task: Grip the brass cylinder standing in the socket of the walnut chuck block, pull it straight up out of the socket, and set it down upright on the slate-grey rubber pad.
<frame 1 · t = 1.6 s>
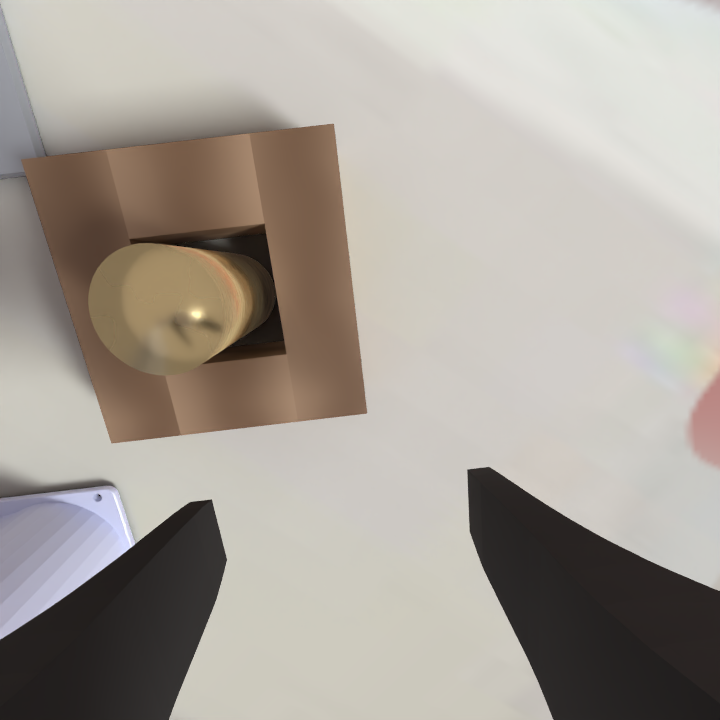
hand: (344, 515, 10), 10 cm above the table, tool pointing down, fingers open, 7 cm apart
chuck block: (236, 293, 18), on the table
brass cylinder: (207, 300, 15), in the chuck block
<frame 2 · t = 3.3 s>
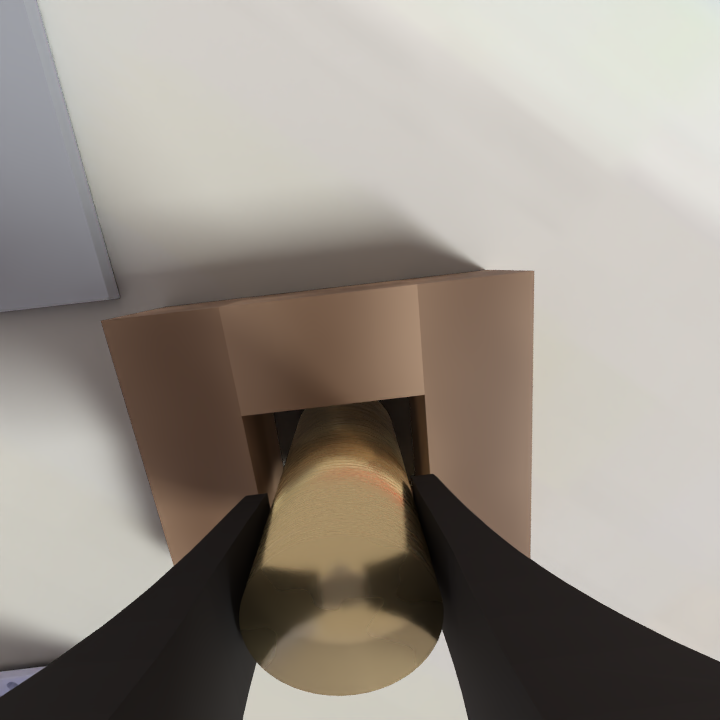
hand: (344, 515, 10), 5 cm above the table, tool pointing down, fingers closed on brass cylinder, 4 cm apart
chuck block: (345, 435, 15), on the table
brass cylinder: (344, 494, 11), in the chuck block, touching gripper
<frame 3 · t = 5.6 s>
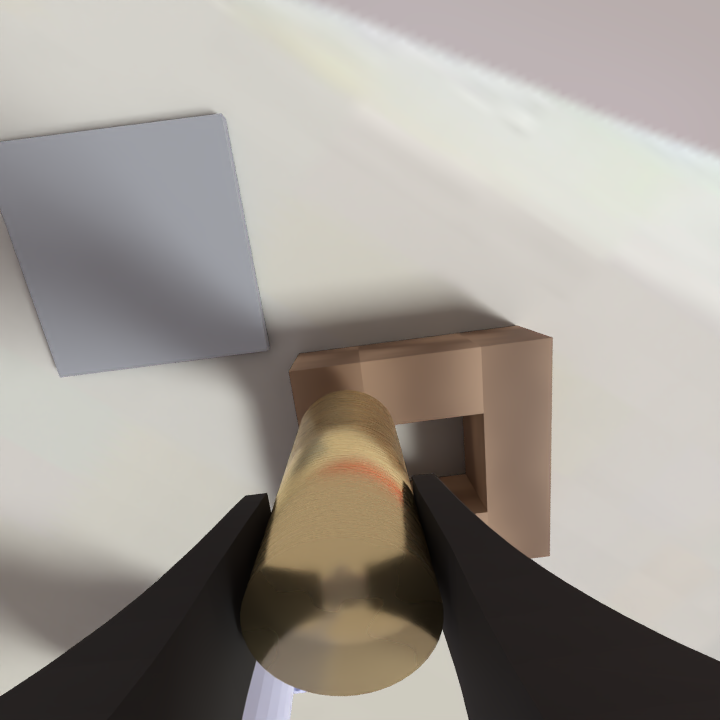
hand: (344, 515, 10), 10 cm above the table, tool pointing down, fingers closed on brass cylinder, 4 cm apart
chuck block: (417, 438, 21), on the table
brass cylinder: (345, 495, 11), point 10 cm above the table, touching gripper
pad: (141, 256, 18), on the table
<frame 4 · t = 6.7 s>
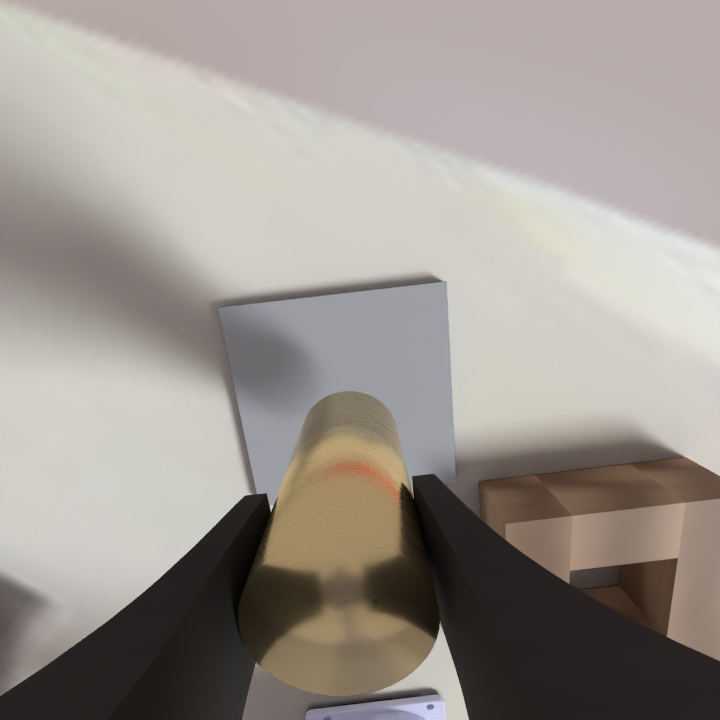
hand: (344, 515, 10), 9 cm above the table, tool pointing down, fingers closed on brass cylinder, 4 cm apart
chuck block: (578, 555, 22), on the table
brass cylinder: (346, 496, 11), point 8 cm above the table, touching gripper
pad: (346, 398, 19), on the table
when the fingers open (6 cm above the table, at t = 7.7 s): brass cylinder stays where it is, resting on pad.
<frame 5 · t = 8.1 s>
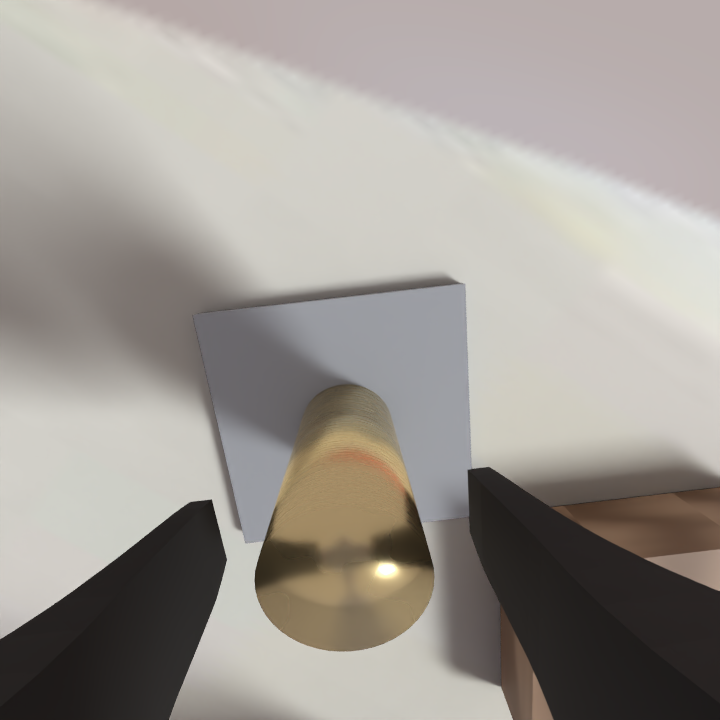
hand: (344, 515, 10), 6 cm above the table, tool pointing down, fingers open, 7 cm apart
chuck block: (609, 594, 19), on the table
brass cylinder: (346, 479, 12), on the pad, point 5 cm above the table
pad: (345, 419, 16), on the table
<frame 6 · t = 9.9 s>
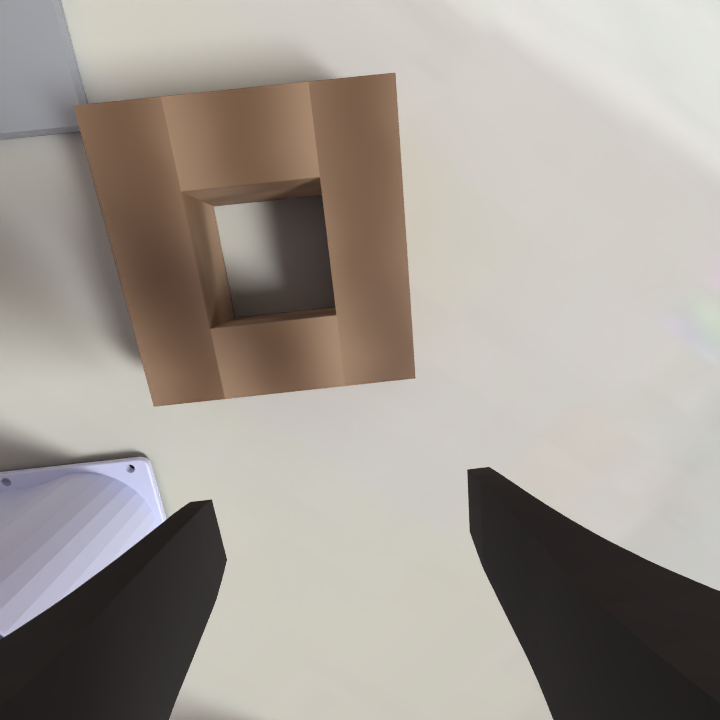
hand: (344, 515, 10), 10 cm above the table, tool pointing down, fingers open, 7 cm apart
chuck block: (278, 258, 18), on the table
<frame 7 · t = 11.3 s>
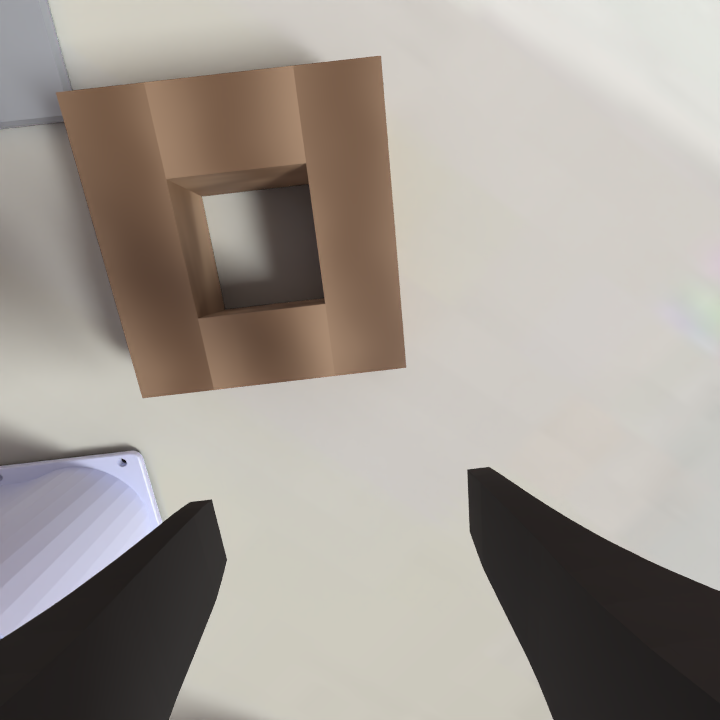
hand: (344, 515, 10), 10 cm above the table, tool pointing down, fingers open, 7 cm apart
chuck block: (268, 248, 18), on the table
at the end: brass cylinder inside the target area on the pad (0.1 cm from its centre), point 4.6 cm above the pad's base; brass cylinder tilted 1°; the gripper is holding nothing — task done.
